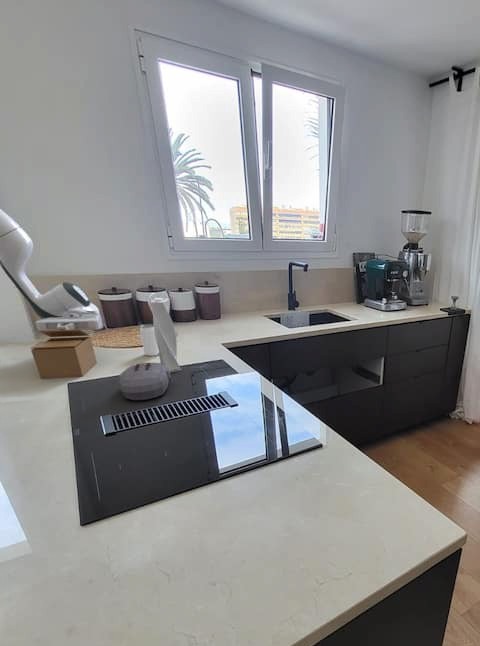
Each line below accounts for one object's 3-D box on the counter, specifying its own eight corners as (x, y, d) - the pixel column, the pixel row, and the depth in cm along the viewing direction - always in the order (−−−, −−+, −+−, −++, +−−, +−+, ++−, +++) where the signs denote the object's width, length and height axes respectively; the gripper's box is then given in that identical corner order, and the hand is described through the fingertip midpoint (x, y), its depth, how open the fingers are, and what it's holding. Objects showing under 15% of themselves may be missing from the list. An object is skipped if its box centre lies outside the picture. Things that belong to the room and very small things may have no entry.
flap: (50, 337, 145) (50, 336, 145) (89, 335, 148) (89, 334, 148) (39, 331, 138) (39, 330, 138) (80, 330, 141) (80, 329, 141)
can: (148, 357, 161) (142, 328, 156) (142, 353, 165) (136, 325, 160) (164, 354, 165) (159, 326, 160) (158, 350, 169) (152, 323, 164)
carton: (58, 364, 150) (49, 336, 145) (97, 362, 153) (89, 334, 148) (40, 378, 137) (30, 347, 132) (82, 376, 140) (74, 345, 135)
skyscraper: (155, 368, 149) (140, 293, 137) (177, 364, 154) (164, 291, 142) (163, 374, 143) (148, 297, 132) (185, 370, 148) (173, 294, 137)
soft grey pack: (125, 382, 136) (116, 405, 119) (120, 359, 132) (110, 380, 115) (173, 377, 141) (170, 399, 124) (168, 355, 138) (166, 374, 121)
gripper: (43, 312, 149) (25, 321, 137) (103, 311, 154) (91, 319, 142) (48, 329, 152) (30, 338, 140) (107, 327, 157) (95, 336, 145)
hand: (61, 328), depth 141 cm, fingers closed
